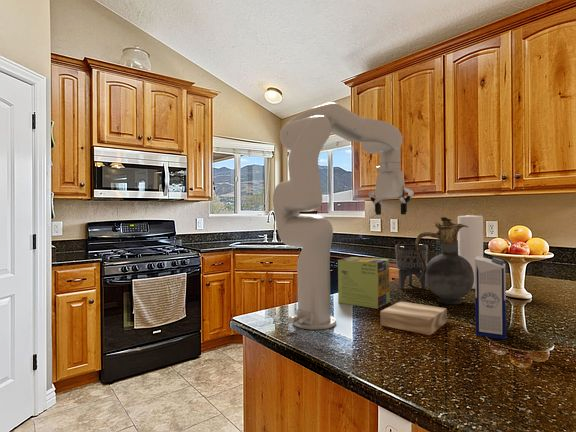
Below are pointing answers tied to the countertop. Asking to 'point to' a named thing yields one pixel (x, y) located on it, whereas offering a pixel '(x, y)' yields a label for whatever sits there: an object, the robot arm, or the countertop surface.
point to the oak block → (414, 317)
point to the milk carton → (490, 297)
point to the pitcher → (447, 265)
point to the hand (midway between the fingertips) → (390, 214)
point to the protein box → (363, 282)
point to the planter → (411, 263)
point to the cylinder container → (470, 239)
